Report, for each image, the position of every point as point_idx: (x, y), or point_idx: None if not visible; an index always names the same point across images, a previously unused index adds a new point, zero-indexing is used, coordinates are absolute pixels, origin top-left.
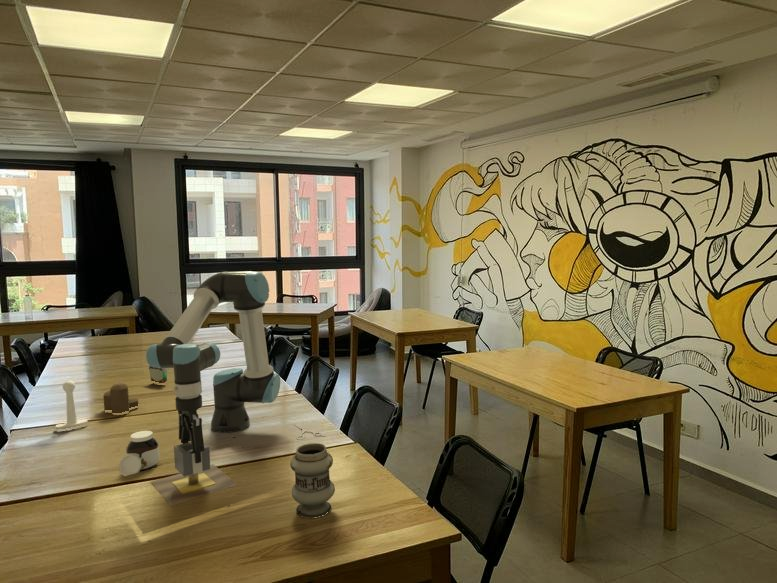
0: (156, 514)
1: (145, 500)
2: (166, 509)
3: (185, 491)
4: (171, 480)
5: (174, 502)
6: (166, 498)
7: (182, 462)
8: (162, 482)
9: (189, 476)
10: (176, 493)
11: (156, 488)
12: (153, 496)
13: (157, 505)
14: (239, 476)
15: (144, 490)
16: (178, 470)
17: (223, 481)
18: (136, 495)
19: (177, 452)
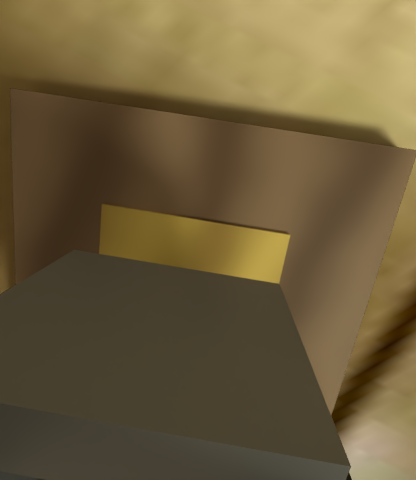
0: (47, 17)
1: (255, 47)
2: (65, 85)
3: (115, 226)
4: (318, 246)
5: (39, 124)
6: (119, 115)
7: (14, 302)
8: (340, 199)
9: None
10: (136, 184)
11: (293, 135)
12: (266, 105)
13: (143, 71)
14: None
15: (386, 103)
16: (196, 272)
17: None
18: (366, 35)
19: (163, 382)
